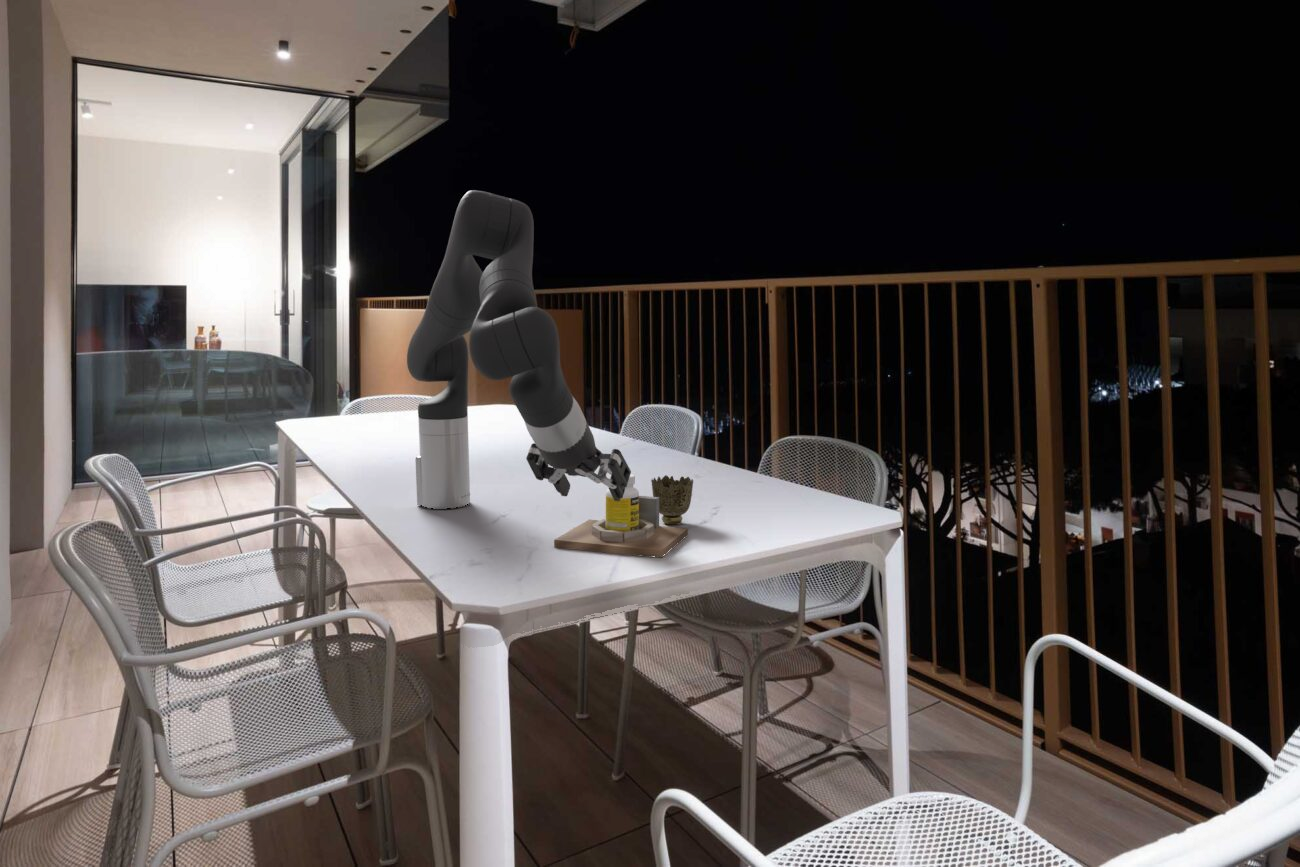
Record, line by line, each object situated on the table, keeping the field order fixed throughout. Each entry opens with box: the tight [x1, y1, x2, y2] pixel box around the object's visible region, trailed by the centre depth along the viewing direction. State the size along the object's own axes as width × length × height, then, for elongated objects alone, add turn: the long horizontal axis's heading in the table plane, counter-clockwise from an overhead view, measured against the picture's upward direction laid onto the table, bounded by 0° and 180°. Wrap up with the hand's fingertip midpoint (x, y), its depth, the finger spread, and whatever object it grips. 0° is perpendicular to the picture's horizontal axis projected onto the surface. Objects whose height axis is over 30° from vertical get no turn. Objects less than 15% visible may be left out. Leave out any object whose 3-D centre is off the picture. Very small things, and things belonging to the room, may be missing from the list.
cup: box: [650, 474, 694, 526], centre depth 145 cm, size 8×7×8 cm
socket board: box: [553, 495, 689, 558], centre depth 133 cm, size 18×14×6 cm
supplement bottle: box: [605, 473, 640, 531], centre depth 132 cm, size 5×5×10 cm
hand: (592, 493), depth 122 cm, fingers open, 8 cm apart
